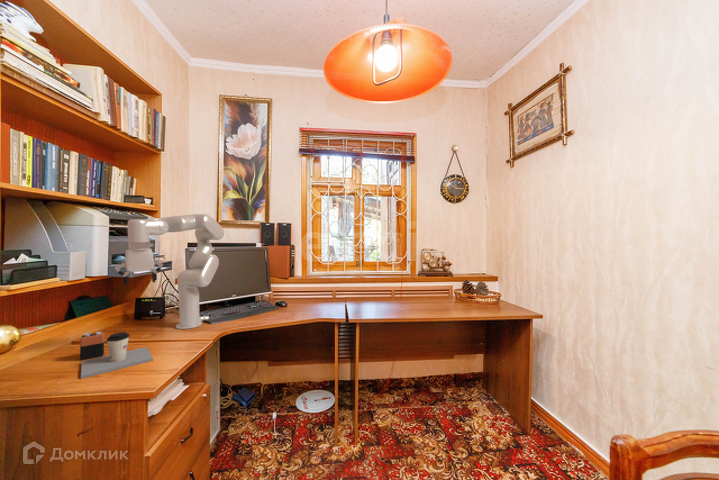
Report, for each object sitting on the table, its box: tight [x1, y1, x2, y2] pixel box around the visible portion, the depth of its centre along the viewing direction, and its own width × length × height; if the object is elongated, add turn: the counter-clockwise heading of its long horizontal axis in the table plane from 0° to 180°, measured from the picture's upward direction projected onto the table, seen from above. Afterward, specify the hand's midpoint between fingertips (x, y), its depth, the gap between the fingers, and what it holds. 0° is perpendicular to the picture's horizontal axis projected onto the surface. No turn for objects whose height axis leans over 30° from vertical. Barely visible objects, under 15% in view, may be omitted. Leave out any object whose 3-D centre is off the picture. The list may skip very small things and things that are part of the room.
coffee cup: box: [106, 331, 130, 362], centre depth 107 cm, size 7×7×10 cm
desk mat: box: [80, 346, 154, 379], centre depth 106 cm, size 20×16×1 cm
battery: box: [79, 331, 105, 361], centre depth 111 cm, size 4×7×10 cm, turn 130°
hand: (140, 283), depth 123 cm, fingers open, 9 cm apart
